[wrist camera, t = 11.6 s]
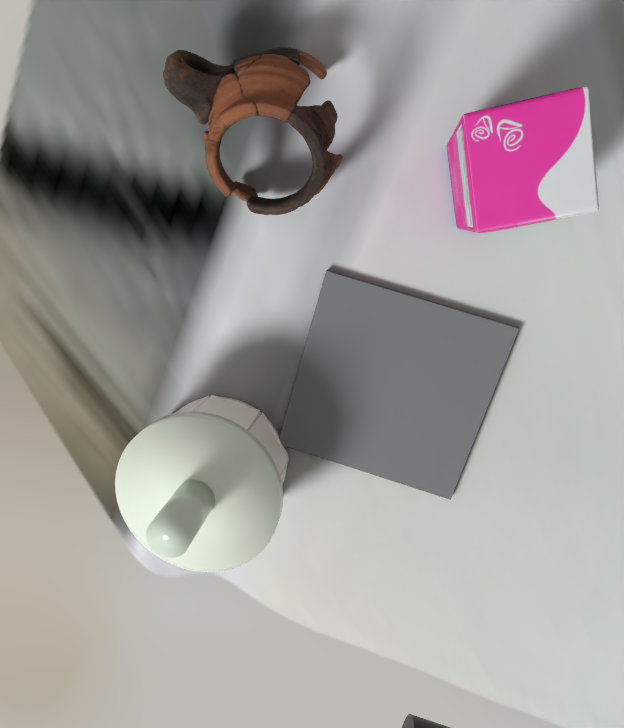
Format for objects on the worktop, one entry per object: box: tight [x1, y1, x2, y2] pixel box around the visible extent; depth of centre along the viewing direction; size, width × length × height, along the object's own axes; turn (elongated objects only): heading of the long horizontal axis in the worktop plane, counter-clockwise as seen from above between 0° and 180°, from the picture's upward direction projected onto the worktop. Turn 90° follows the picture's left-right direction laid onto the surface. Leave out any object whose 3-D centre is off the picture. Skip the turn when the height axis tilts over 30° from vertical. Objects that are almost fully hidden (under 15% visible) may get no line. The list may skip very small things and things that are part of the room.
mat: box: [279, 270, 519, 500], centre depth 42 cm, size 14×14×1 cm
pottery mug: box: [163, 47, 343, 215], centre depth 36 cm, size 12×10×8 cm
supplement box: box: [447, 86, 599, 233], centre depth 32 cm, size 6×6×12 cm
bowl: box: [173, 395, 289, 485], centre depth 43 cm, size 11×11×5 cm
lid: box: [115, 412, 283, 572], centre depth 38 cm, size 12×12×6 cm
